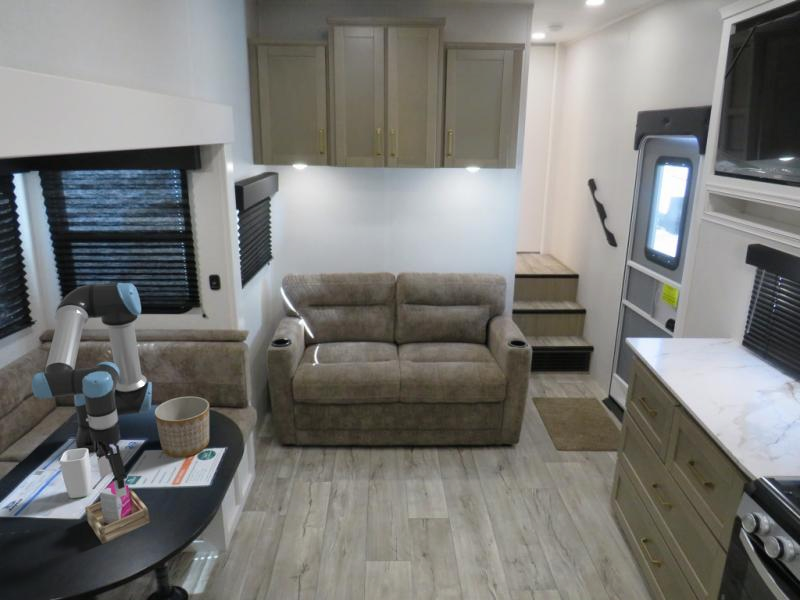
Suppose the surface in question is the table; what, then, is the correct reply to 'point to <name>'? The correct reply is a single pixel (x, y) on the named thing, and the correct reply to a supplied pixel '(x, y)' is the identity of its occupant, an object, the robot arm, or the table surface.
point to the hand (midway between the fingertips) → (113, 485)
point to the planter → (183, 425)
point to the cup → (76, 472)
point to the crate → (120, 526)
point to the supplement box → (114, 504)
